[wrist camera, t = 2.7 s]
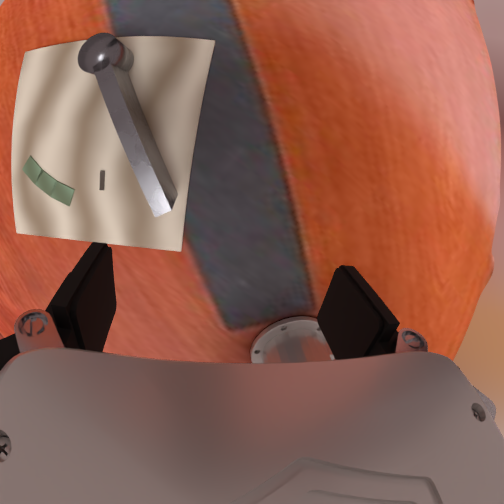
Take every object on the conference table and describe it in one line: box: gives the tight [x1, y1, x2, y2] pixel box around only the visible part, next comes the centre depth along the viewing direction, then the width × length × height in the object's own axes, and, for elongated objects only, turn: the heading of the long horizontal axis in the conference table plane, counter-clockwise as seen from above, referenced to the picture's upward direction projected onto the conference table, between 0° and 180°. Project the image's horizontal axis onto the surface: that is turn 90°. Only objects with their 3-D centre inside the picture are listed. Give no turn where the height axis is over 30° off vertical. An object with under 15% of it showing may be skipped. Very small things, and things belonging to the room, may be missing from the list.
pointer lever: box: [78, 33, 178, 217], centre depth 20 cm, size 17×4×5 cm, turn 18°
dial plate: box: [12, 36, 215, 252], centre depth 23 cm, size 22×22×2 cm
